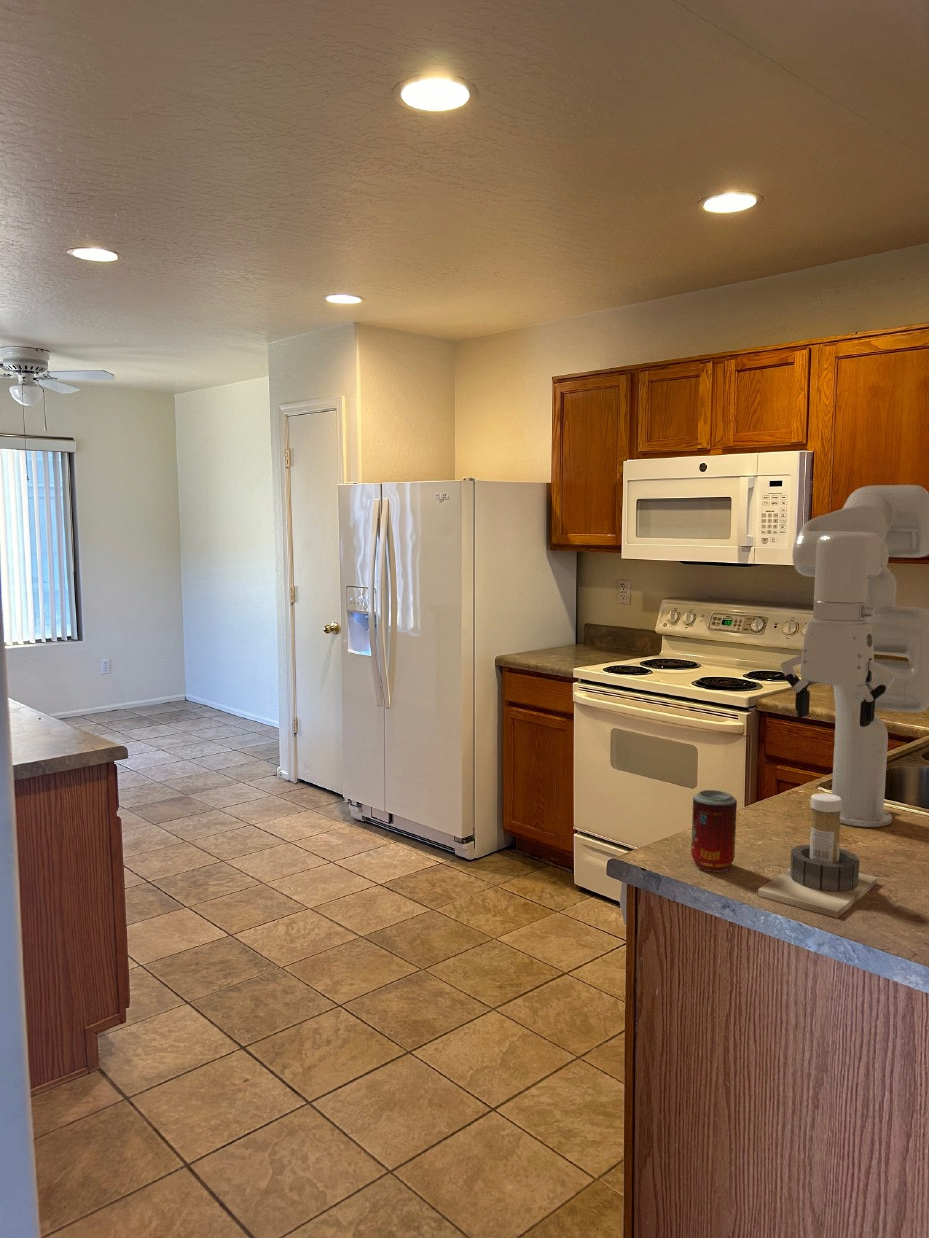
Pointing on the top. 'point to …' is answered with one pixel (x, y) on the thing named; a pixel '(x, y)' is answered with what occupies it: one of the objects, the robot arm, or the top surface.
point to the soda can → (713, 830)
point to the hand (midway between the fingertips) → (833, 720)
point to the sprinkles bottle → (825, 828)
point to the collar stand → (819, 883)
